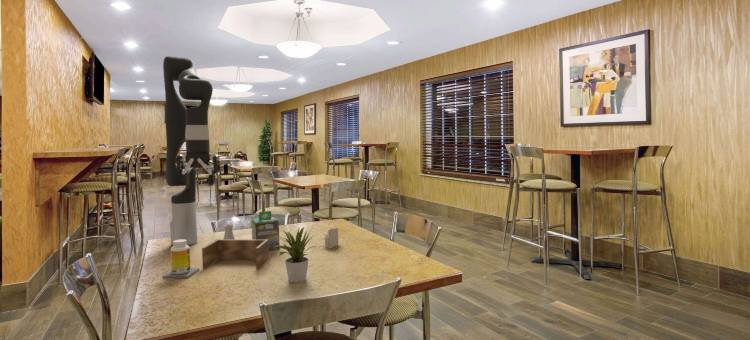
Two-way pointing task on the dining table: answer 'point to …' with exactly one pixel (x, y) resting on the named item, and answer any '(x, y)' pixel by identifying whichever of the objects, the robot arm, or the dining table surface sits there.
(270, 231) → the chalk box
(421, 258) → the dining table surface
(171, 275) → the grey pad
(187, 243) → the robot arm
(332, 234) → the architectural model
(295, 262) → the house plant
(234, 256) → the walnut box
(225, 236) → the flask
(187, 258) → the supplement bottle
